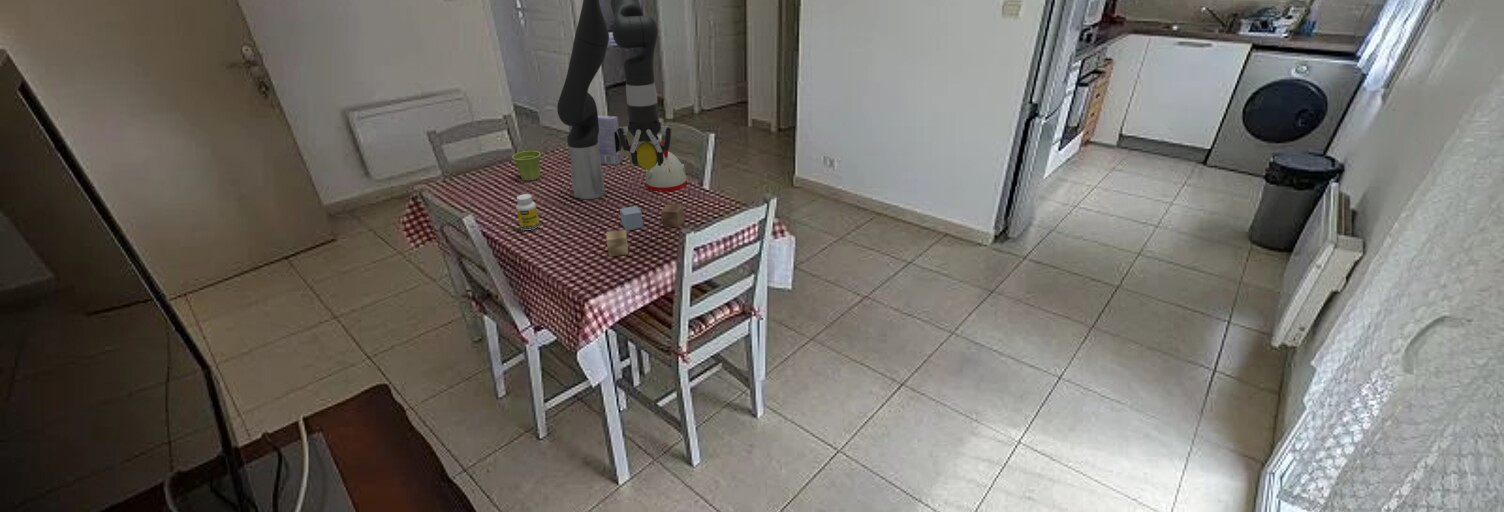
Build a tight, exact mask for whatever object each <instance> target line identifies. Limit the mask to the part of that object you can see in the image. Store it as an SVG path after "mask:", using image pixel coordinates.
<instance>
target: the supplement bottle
mask: <svg viewBox="0 0 1504 512" xmlns="http://www.w3.org/2000/svg"><path fill="white" fill-rule="evenodd" d="M516 200H517V204H516V207H515V208H516V212H517V213H516V214H517V217H518V223H519V227H520V229H521V230H522V229H523V230H522V231H524V230H531V229H535V228H537V227H538V228H540V226H541V225H540V220H539V215H538V209H537V204H536V202H535V201H533V197H532V194H530V193H529V194H528V193H523V194H520V195H517V196H516ZM539 225H540V226H539ZM538 228H537V229H538ZM535 230H536V229H535ZM531 231H532V230H531Z"/></svg>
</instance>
